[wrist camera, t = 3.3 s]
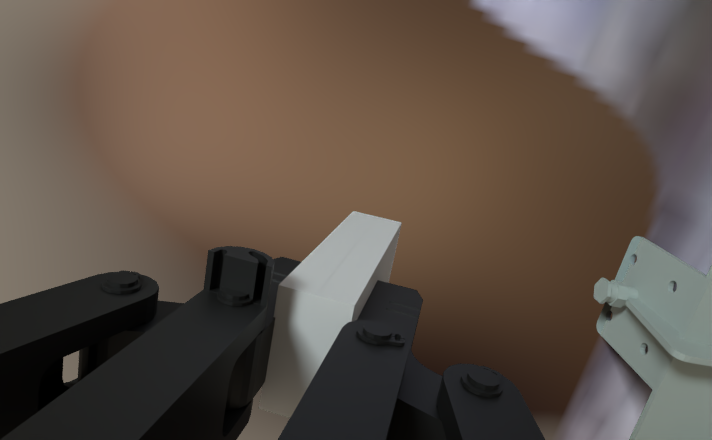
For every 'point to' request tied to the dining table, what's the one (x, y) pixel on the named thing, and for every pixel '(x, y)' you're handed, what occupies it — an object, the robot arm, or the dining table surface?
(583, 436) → the dining table surface
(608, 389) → the dining table surface
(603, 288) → the metal bracket
